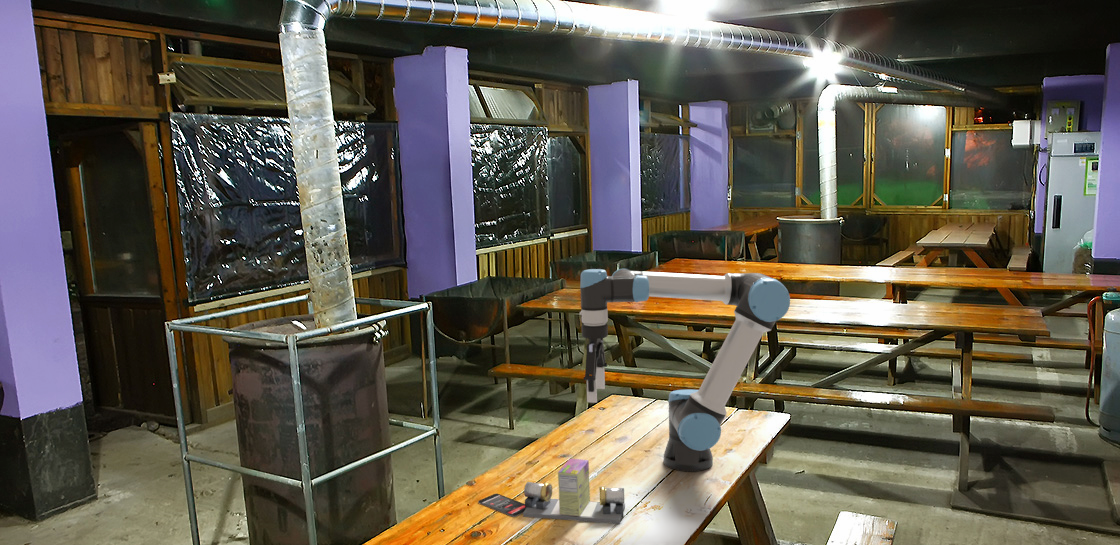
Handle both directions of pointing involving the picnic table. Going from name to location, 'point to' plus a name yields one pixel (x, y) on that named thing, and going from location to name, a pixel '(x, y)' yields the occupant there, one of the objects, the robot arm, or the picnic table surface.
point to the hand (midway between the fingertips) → (596, 395)
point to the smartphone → (503, 505)
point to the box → (574, 487)
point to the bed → (590, 513)
